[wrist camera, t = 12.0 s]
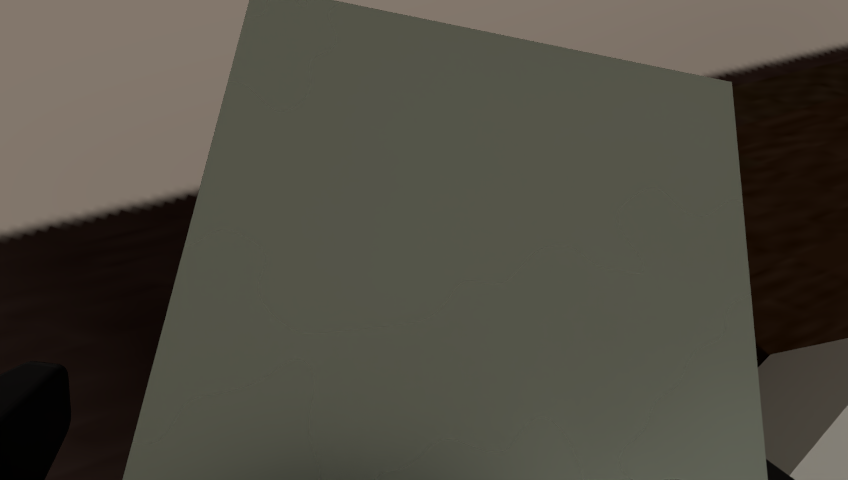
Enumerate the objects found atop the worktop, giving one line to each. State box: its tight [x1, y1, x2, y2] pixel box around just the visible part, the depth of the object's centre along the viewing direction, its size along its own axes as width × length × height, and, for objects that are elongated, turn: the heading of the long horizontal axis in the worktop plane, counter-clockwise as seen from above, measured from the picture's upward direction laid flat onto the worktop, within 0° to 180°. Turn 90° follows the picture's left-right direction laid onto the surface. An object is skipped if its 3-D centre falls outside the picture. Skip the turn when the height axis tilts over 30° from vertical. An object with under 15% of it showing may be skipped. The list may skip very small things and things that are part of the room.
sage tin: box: [123, 0, 768, 480], centre depth 11 cm, size 5×5×12 cm
